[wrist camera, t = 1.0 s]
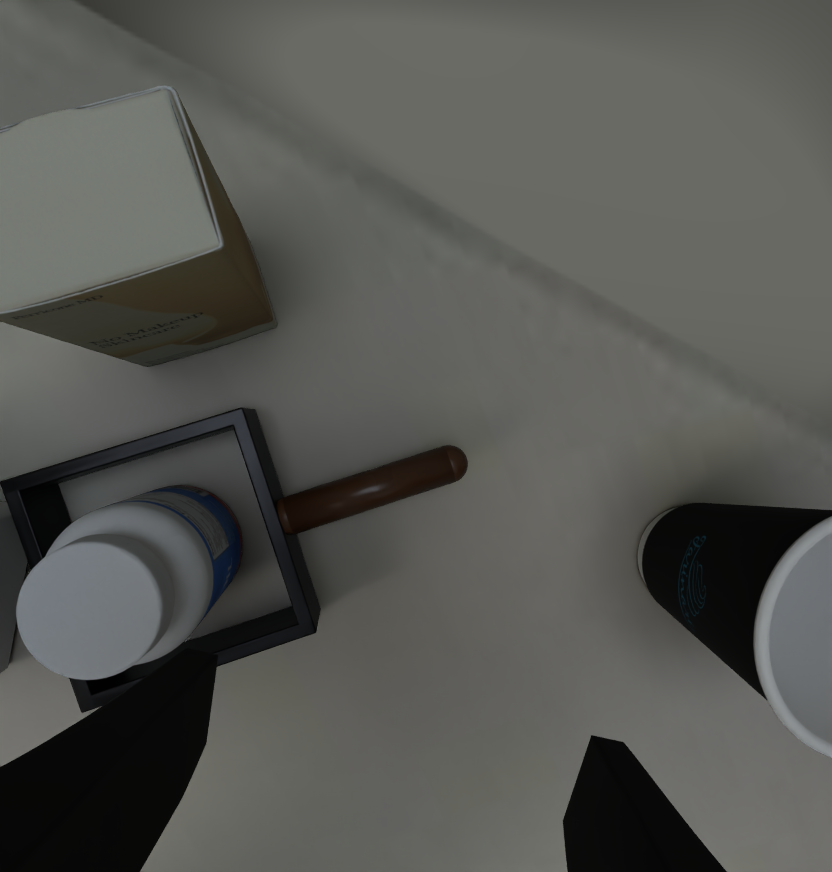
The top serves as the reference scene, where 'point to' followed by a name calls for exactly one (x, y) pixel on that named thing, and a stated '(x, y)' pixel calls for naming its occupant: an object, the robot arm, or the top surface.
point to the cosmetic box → (124, 233)
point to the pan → (284, 517)
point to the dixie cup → (754, 599)
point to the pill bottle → (128, 582)
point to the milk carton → (9, 581)
